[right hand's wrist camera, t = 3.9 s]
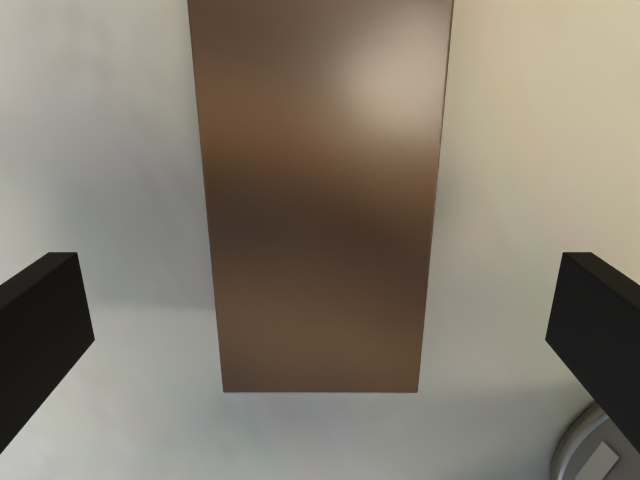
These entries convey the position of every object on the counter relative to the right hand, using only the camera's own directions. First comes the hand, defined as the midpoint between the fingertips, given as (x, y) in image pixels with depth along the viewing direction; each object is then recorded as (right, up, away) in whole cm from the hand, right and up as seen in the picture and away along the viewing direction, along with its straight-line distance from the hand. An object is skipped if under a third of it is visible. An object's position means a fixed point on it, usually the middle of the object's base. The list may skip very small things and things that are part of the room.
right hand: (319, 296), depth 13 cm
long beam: (0, +34, +1) cm, 34 cm away
